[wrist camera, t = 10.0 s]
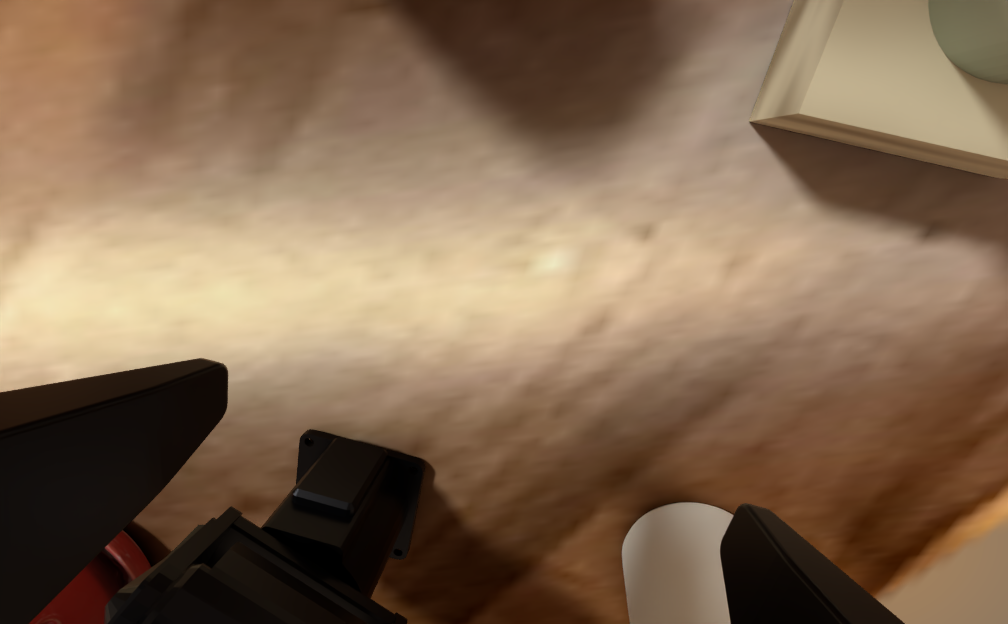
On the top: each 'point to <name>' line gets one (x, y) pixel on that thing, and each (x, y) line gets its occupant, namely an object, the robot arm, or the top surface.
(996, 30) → the grey-green rounded piece
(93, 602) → the plant pot
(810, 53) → the beech block
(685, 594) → the can
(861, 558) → the top surface
